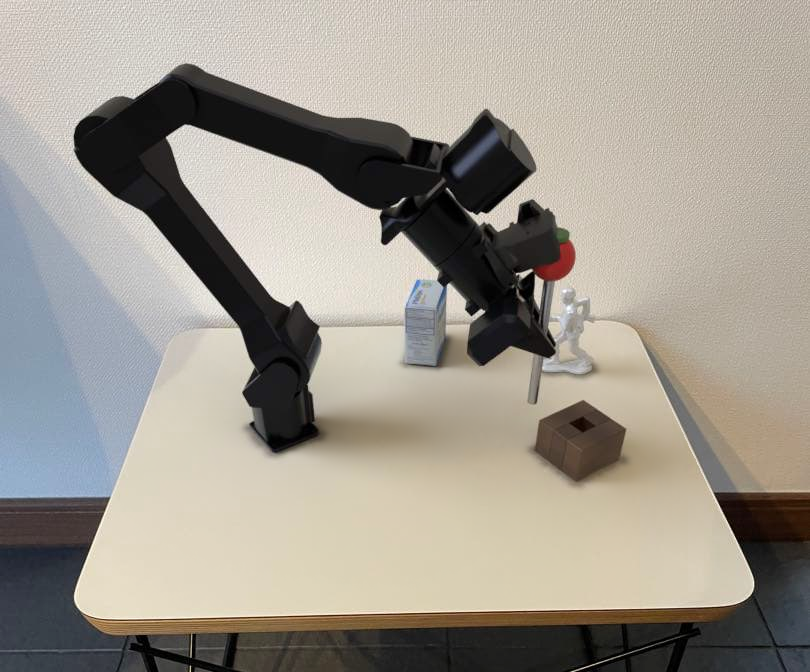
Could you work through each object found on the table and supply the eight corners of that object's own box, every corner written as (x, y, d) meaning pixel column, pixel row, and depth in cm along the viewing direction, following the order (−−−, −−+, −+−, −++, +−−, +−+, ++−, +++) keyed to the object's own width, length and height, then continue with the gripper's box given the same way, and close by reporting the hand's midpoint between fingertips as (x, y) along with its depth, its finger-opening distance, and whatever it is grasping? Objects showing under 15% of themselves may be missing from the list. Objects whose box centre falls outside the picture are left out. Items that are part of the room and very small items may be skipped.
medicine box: (436, 367, 104) (438, 308, 97) (404, 364, 104) (403, 305, 98) (445, 338, 109) (448, 280, 103) (415, 334, 110) (415, 277, 104)
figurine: (596, 376, 102) (613, 292, 94) (528, 380, 101) (539, 296, 93) (586, 357, 105) (602, 274, 97) (520, 361, 105) (530, 278, 96)
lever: (530, 418, 84) (554, 246, 70) (504, 399, 86) (523, 230, 73) (560, 404, 86) (589, 234, 72) (533, 386, 88) (557, 219, 74)
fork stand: (575, 482, 87) (582, 451, 84) (534, 450, 91) (539, 419, 88) (619, 459, 90) (627, 428, 86) (577, 430, 94) (583, 399, 90)
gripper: (514, 228, 63) (623, 355, 70) (521, 150, 76) (613, 264, 83) (419, 309, 70) (527, 418, 76) (441, 224, 83) (531, 324, 89)
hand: (552, 351), depth 81 cm, fingers closed on lever
